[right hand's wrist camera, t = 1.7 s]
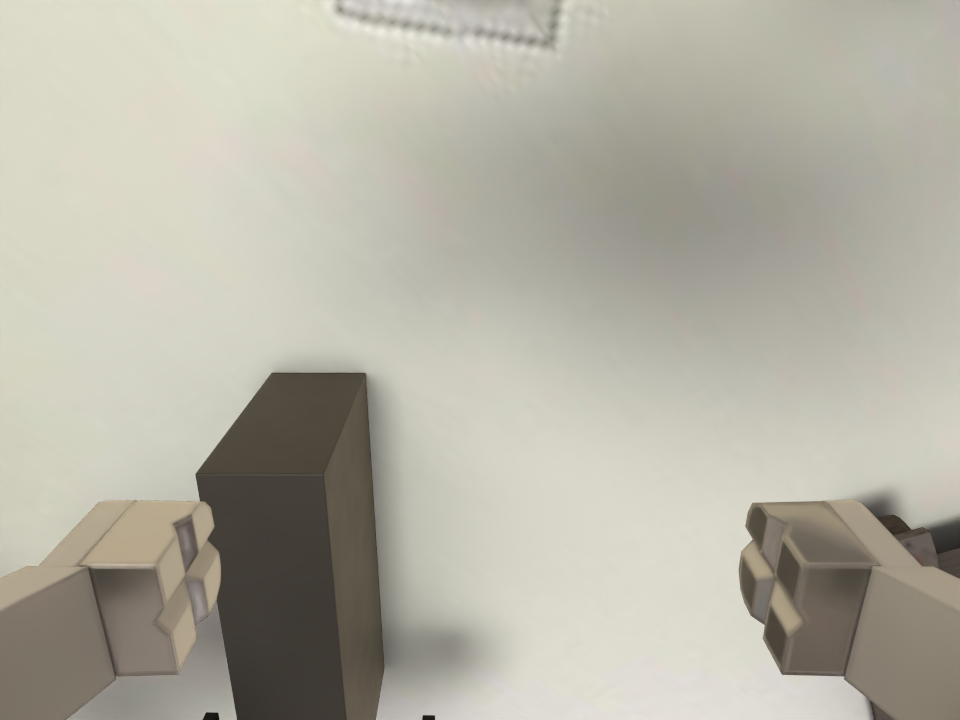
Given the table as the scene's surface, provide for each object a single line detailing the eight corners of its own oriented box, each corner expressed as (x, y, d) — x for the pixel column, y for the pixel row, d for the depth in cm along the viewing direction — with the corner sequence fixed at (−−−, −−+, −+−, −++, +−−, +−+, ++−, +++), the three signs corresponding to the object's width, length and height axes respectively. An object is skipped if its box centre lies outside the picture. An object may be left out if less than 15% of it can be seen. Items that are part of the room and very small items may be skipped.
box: (271, 372, 43) (194, 473, 32) (365, 372, 43) (323, 473, 32) (305, 668, 52) (256, 833, 40) (384, 668, 52) (356, 833, 40)
